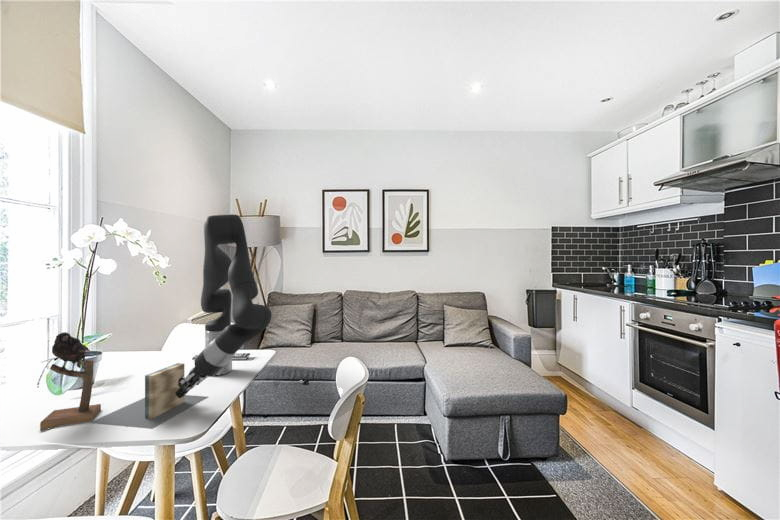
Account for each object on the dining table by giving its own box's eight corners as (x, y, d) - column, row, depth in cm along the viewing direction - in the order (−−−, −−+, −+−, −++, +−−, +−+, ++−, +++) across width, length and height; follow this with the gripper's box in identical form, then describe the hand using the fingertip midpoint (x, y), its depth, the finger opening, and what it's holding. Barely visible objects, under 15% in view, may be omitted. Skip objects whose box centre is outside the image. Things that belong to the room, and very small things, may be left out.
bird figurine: (107, 403, 110) (107, 323, 110) (91, 422, 97) (91, 331, 97) (62, 409, 106) (62, 326, 106) (40, 430, 93) (40, 335, 93)
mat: (155, 394, 118) (155, 392, 118) (208, 397, 114) (208, 396, 114) (88, 424, 96) (88, 422, 96) (152, 430, 93) (152, 428, 93)
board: (177, 401, 111) (177, 363, 111) (184, 401, 110) (184, 363, 110) (145, 418, 99) (145, 375, 99) (152, 418, 98) (152, 375, 98)
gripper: (222, 340, 109) (187, 378, 111) (191, 351, 96) (152, 394, 98) (238, 358, 108) (202, 396, 110) (209, 372, 95) (169, 414, 97)
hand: (178, 395), depth 104 cm, fingers closed
